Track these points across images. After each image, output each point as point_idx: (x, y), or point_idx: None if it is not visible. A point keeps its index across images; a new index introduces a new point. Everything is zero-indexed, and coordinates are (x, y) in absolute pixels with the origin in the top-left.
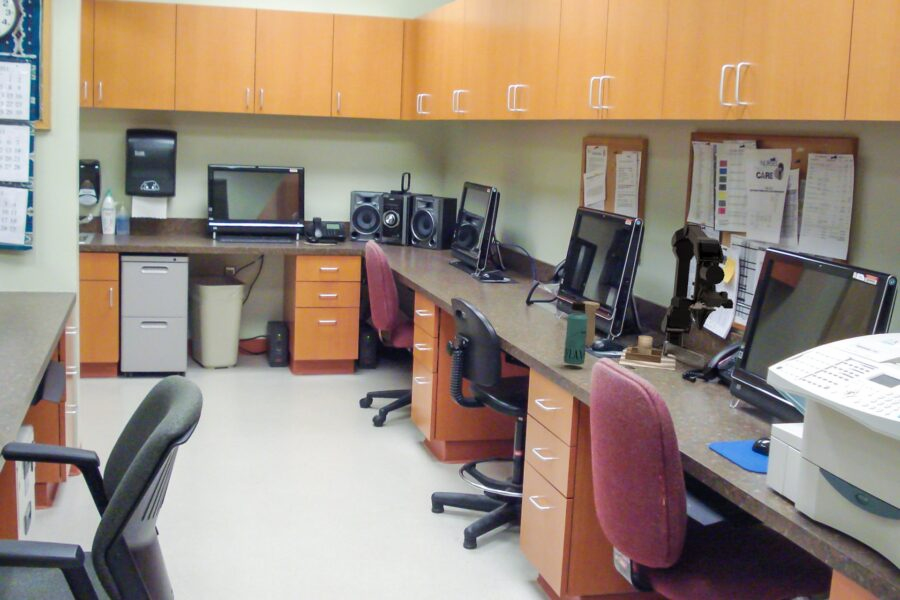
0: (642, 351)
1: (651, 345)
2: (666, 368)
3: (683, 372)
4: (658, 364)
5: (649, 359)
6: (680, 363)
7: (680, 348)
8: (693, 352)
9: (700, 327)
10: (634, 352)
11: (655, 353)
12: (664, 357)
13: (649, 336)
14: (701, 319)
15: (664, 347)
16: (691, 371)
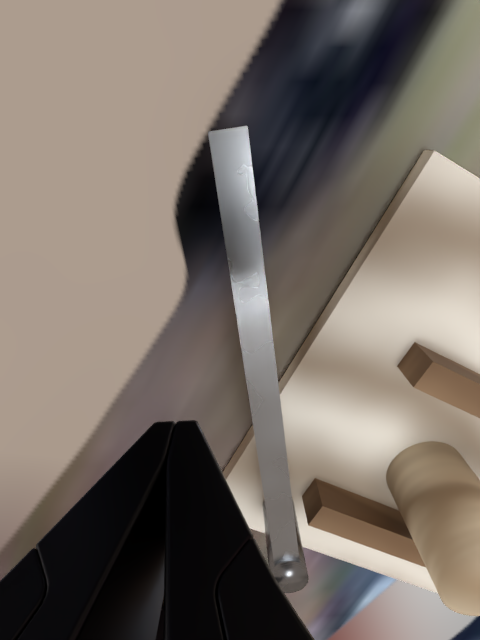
0: (476, 477)
1: (437, 510)
2: (472, 194)
3: (342, 173)
4: (453, 307)
5: (477, 377)
6: (235, 399)
7: (282, 424)
8: (249, 283)
9: (177, 440)
10: None
11: (349, 501)
12: (304, 466)
13: (445, 599)
14: (168, 556)
15: (299, 537)
16: (266, 202)
